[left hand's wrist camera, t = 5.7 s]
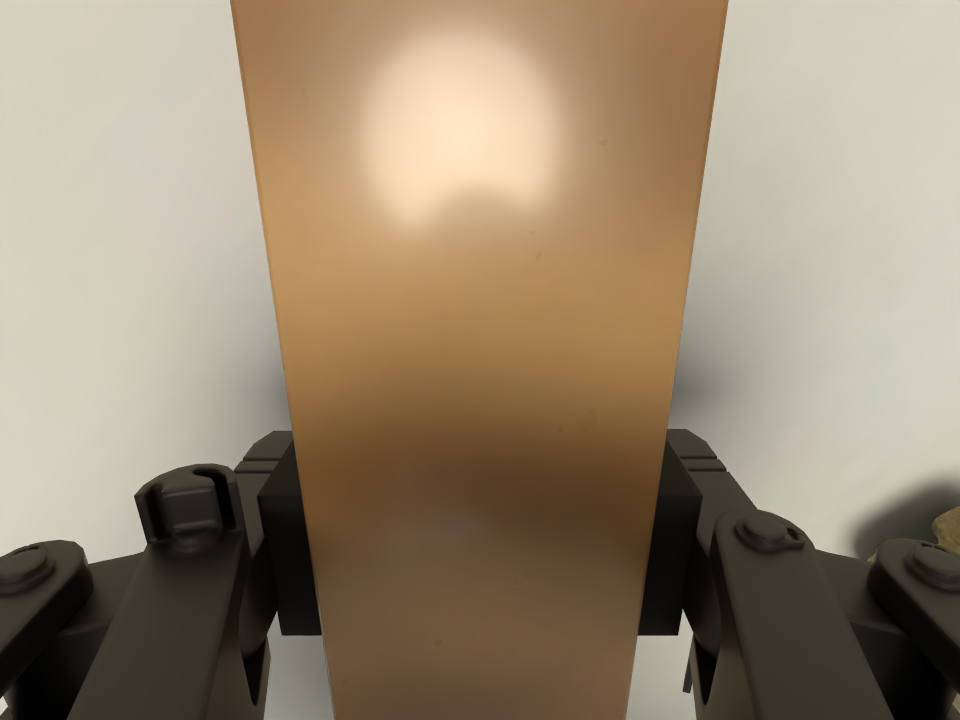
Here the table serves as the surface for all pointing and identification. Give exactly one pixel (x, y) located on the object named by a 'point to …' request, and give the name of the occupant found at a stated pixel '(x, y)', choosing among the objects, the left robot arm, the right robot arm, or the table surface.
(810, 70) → the table surface
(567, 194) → the bar
